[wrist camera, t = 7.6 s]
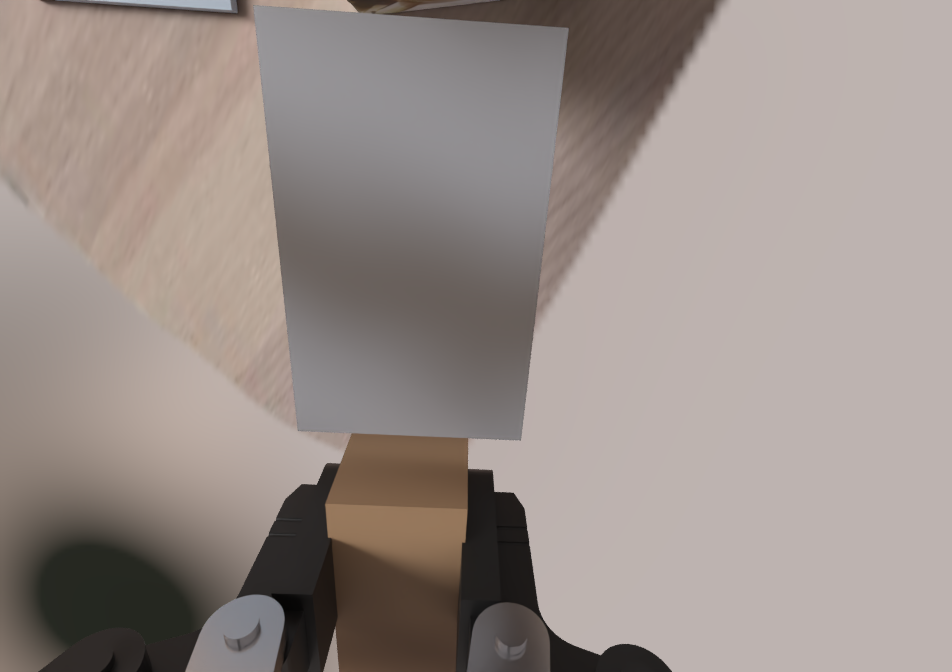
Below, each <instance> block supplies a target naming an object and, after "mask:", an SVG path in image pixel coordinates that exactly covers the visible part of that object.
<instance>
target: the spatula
mask: <svg viewBox="0 0 952 672" xmlns="http://www.w3.org/2000/svg"><path fill="white" fill-rule="evenodd" d="M253 7H254V17H255V26H256V36H257V46H258V55H259V65H260V74H261V84H262V93H263V103H264V112H265V122H266V132H267V141H268V151H269V160H270V170H271V179H272V189H273V198H274V208H275V218H276V227H277V237H278V246H279V256H280V265H281V275H282V285H283V294H284V304H285V313H286V323H287V332H288V342H289V351H290V361H291V371H292V380H293V390H294V399H295V409H296V418H297V428H298V431H311V432H334V433H352V435H351V437H350V440H349V442H348V445H347V448H346V450H345V453H344V456H343V458H342V461H341V464H340V466H339V469H338V471H337V474H336V477H335V479H334V482H333V485H332V487H331V490H330V493H329V495H328V498H327V500H326V503H325V507H326V519H327V531H328V538H331V539H332V552H333V564H334V577H335V589H336V602H337V614H338V618H337V622H336V626H335V627H336V638H337V650H338V662H339V672H456V641H457V614H458V598H459V582H460V567H461V551H462V543H465V540H466V525H467V510H468V438H475V439H499V440H521V435H522V426H523V418H524V410H525V401H526V392H527V384H528V374H529V367H530V358H531V349H532V341H533V332H534V324H535V315H536V306H537V298H538V289H539V281H540V272H541V263H542V255H543V246H544V238H545V229H546V220H547V212H548V203H549V195H550V186H551V177H552V169H553V160H554V152H555V143H556V134H557V126H558V117H559V109H560V100H561V91H562V83H563V74H564V66H565V57H566V48H567V40H568V31H569V28H563V27H549V26H535V25H521V24H507V23H494V22H480V21H466V20H452V19H438V18H424V17H410V16H396V15H383V14H369V13H355V12H341V11H327V10H313V9H299V8H285V7H272V6H258V5H253Z"/></svg>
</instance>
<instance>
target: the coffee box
mask: <svg viewBox="0 0 952 672" xmlns="http://www.w3.org/2000/svg"><path fill="white" fill-rule="evenodd" d="M347 1H348V2H350V3H351V4H352V5H353V6H354V7H355V9H356V10H357V11H358V12H359V13H369V14H388V13H396V12H405V11H413V10H422V9H430V8H439V7H447V6H456V5H464V4H472V3H481V2H489V1H498V0H347Z"/></svg>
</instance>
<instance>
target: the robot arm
mask: <svg viewBox="0 0 952 672" xmlns="http://www.w3.org/2000/svg"><path fill="white" fill-rule="evenodd" d="M339 466H340V464H336V463H327V464H326V465H325V467H324V469H323V472H322V474H321V476H320V479H319V481H318V483H317V485H308V484H302V485H300V487H298V488H297V489H296V490H295V491H294V492H293V493H292V494H291V495H290V496H289V497H287V498H286V499H285V501H284V503H283V505H282V507H281V509H280V511H279V513H278V515H277V518H276V521H275V522H274V524H273V525H272V527H271V530H270V532H269V536H268V537H267V538H266V540H265V542H264V544H263V546H262V548H261V550H260V552H259V554H258V556H257V558H256V561H255V562H254V564H253V566H252V568H251V571H250V572H249V574H248V577H247V579H246V581H245V583H244V585H243V587H242V589H241V591H240V593H239V595H238V596H237V598H236V599H235V600H233V601H231V602H229V603H227V604H225V605H224V606H222V607H221V608H220V609H218V610H217V611H216V612H215V613H214V614H213V615H212V616H211V617H210V618H209V619H208V620H207V622H206V623H205V625H204V626H203V628H201V629H200V630H197V631H195V632H192V633H189V634H186V635H182V636H178V637H175V638H171V639H167V640H164V641H160V642H156V643H152V644H149V645H145V642H144V640H143V638H142V636H141V635H140V634H139V633H138V632H136V631H134V630H132V629H128V628H111V629H107V630H103V631H100V632H97V633H94V634H92V635H90V636H88V637H86V638H84V639H82V640H81V641H79V642H77V643H76V644H74V645H73V646H71V647H70V648H69V649H67V650H66V651H65V652H63V653H62V654H61V655H59V656H58V657H57V658H56V659H54V660H53V661H52V662H51V663H50V664H48V665H47V666H46V667H44V668H43V669H41V670H40V671H39V672H323V670H324V667H325V663H326V659H327V656H328V652H329V647H330V644H331V641H332V637H333V633H334V629H335V626H336V622H337V618H338V614H337V602H336V589H335V577H334V564H333V552H332V539H331V538H328V531H327V519H326V507H325V503H326V500H327V498H328V495H329V493H330V490H331V487H332V485H333V482H334V479H335V477H336V474H337V471H338V469H339ZM456 672H672V671H671V670H670V669H669V668H668V666H667V665H666V664H665V663H664V662H663V661H662V660H661V659H659V657H657V656H656V655H655V654H653V653H652V652H650V651H648V650H646V649H644V648H642V647H639V646H636V645H630V644H619V645H615V646H612V647H610V648H608V649H607V650H606V651H605V652H604V653H603V654H602V655H598V654H595V653H593V652H590V651H587V650H584V649H582V648H579V647H576V646H574V645H571V644H569V643H567V642H566V641H564V640H562V639H561V638H559V637H558V636H557V635H556V634H555V633H554V632H553V631H552V630H551V629H550V628H549V627H548V626H547V624H546V623H545V621H544V620H543V618H542V616H541V613H540V611H539V607H538V602H537V595H536V587H535V581H534V573H533V566H532V559H531V552H530V546H529V538H528V531H527V524H526V516H525V510H524V507H523V506H522V504H521V503H520V502H519V500H518V499H517V497H516V496H515V494H514V493H506V492H494V481H493V471H492V470H479V469H468V510H467V525H466V540H465V543H462V551H461V567H460V582H459V598H458V614H457V641H456Z"/></svg>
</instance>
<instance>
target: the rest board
mask: <svg viewBox="0 0 952 672" xmlns="http://www.w3.org/2000/svg"><path fill="white" fill-rule="evenodd" d="M57 1H71V2H85V3H99V4H113V5H127V6H141V7H155V8H169V9H183V10H198V11H212V12H226V13H238V10H237V1H236V0H57Z"/></svg>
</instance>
